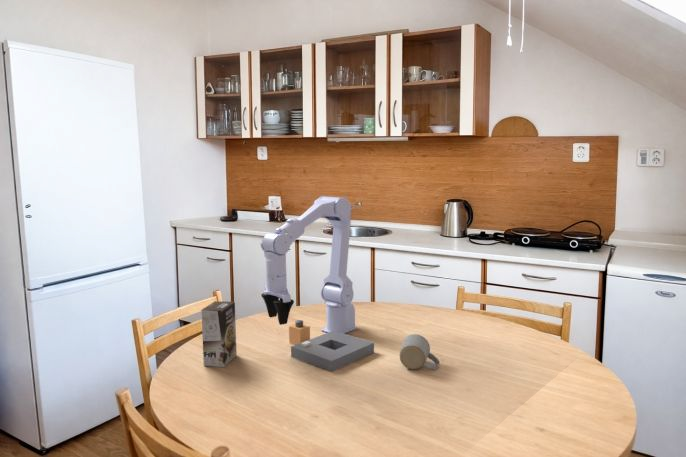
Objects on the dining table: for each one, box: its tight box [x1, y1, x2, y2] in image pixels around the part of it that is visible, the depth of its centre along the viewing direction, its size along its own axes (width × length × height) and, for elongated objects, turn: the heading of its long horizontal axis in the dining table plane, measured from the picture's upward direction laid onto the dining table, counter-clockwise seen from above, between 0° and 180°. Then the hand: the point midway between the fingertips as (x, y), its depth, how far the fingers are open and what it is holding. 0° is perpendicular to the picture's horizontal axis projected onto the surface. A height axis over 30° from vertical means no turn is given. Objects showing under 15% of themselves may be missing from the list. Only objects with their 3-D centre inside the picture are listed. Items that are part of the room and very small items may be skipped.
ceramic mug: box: [399, 333, 441, 371], centre depth 146 cm, size 11×8×8 cm
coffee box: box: [201, 300, 238, 368], centre depth 150 cm, size 9×6×16 cm
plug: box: [288, 319, 311, 346], centre depth 163 cm, size 4×5×7 cm
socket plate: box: [290, 331, 375, 372], centre depth 154 cm, size 18×16×4 cm
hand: (277, 320), depth 155 cm, fingers open, 7 cm apart
